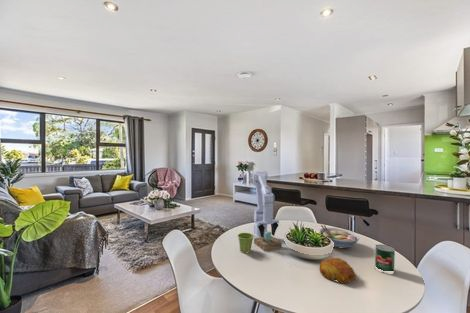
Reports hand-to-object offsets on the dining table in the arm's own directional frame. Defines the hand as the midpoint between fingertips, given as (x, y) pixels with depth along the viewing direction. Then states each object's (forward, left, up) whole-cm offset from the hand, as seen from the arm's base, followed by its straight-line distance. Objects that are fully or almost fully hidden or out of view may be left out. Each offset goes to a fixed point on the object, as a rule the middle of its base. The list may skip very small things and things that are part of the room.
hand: (267, 236), depth 137 cm
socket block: (0, 0, -6) cm, 6 cm away
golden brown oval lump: (+41, +12, -6) cm, 43 cm away
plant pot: (+2, -16, -6) cm, 17 cm away
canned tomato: (+46, +38, -6) cm, 60 cm away
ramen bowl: (+16, +41, -6) cm, 44 cm away
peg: (0, 0, -6) cm, 6 cm away
